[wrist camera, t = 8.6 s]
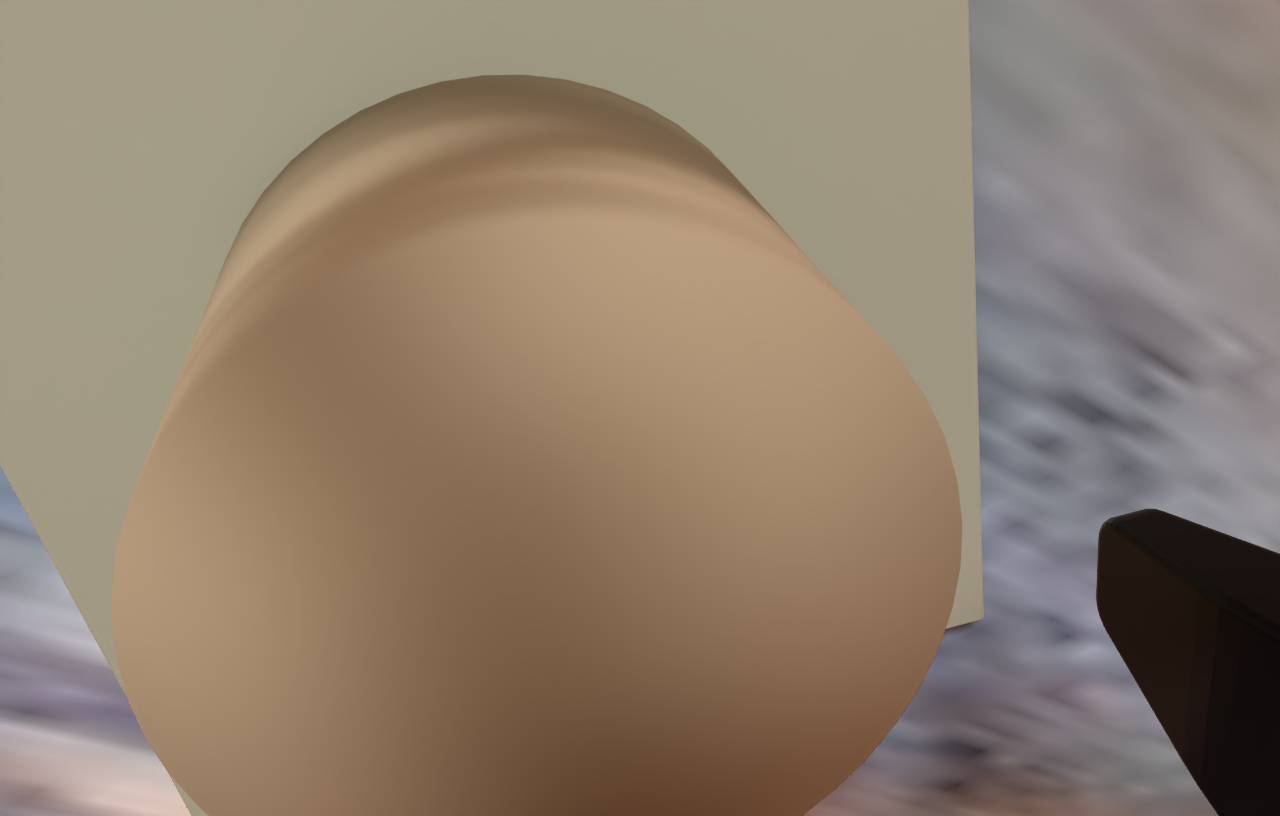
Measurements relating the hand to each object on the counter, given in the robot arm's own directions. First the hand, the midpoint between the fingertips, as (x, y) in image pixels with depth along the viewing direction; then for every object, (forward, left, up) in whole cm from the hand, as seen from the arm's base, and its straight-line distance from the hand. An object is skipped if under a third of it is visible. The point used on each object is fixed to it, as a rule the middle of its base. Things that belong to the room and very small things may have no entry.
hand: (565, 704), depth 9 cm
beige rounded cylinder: (0, 0, -6) cm, 6 cm away
